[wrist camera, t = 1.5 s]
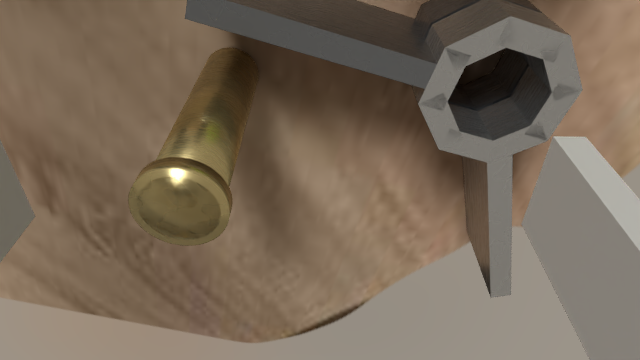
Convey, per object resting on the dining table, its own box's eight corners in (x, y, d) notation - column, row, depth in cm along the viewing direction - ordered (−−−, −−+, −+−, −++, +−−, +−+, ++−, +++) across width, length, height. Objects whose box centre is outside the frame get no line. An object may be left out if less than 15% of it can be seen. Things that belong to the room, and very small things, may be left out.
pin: (195, 92, 36) (125, 233, 24) (205, 34, 34) (131, 158, 21) (256, 108, 37) (220, 253, 24) (270, 52, 34) (237, 183, 22)
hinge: (184, 162, 40) (158, 225, 34) (226, -106, 28) (198, -88, 22) (479, 234, 45) (505, 300, 39) (621, 29, 33) (692, 76, 27)
